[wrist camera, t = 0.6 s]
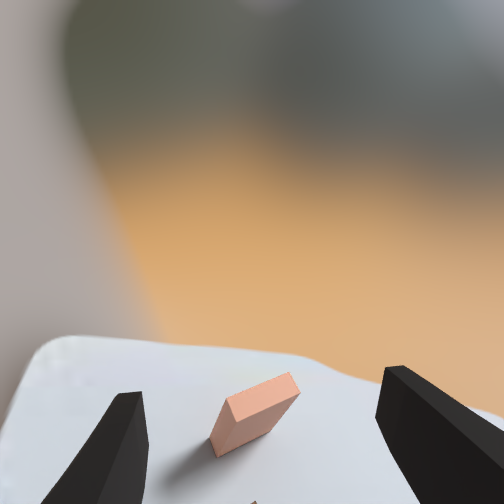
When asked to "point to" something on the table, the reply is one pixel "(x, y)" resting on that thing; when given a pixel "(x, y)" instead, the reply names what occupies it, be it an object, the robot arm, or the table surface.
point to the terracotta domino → (252, 413)
